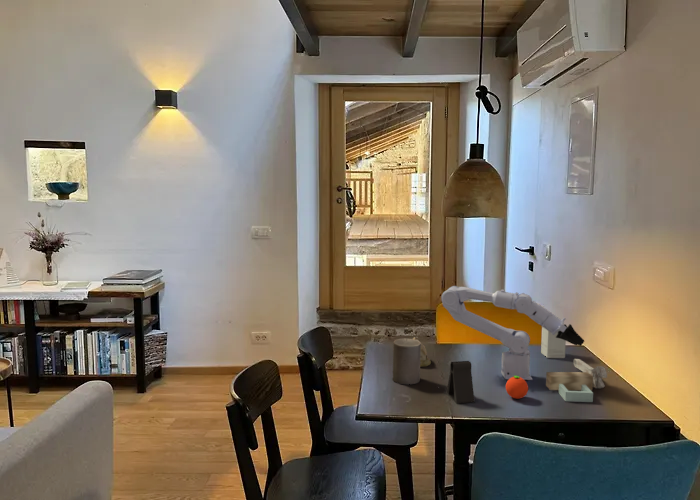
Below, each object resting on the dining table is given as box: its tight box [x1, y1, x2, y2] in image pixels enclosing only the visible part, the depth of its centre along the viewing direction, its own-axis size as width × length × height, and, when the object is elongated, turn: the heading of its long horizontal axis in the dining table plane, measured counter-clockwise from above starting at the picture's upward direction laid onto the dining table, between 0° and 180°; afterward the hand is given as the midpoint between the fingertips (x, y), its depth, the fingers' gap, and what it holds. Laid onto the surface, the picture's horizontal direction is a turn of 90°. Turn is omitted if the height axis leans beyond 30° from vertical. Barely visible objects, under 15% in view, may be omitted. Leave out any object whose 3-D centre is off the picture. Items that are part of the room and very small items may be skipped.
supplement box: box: [540, 326, 567, 359], centre depth 217 cm, size 7×7×13 cm
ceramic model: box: [412, 336, 432, 368], centre depth 210 cm, size 14×11×10 cm
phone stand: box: [446, 360, 476, 405], centre depth 173 cm, size 9×6×12 cm, turn 10°
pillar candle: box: [392, 337, 422, 386], centre depth 189 cm, size 10×10×15 cm
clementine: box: [505, 376, 529, 400], centre depth 174 cm, size 8×7×7 cm
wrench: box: [573, 358, 608, 389], centre depth 191 cm, size 8×2×30 cm
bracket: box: [558, 384, 594, 403], centre depth 174 cm, size 8×7×3 cm
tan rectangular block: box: [545, 371, 594, 391], centre depth 182 cm, size 14×4×5 cm, turn 89°
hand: (580, 343), depth 184 cm, fingers open, 7 cm apart
